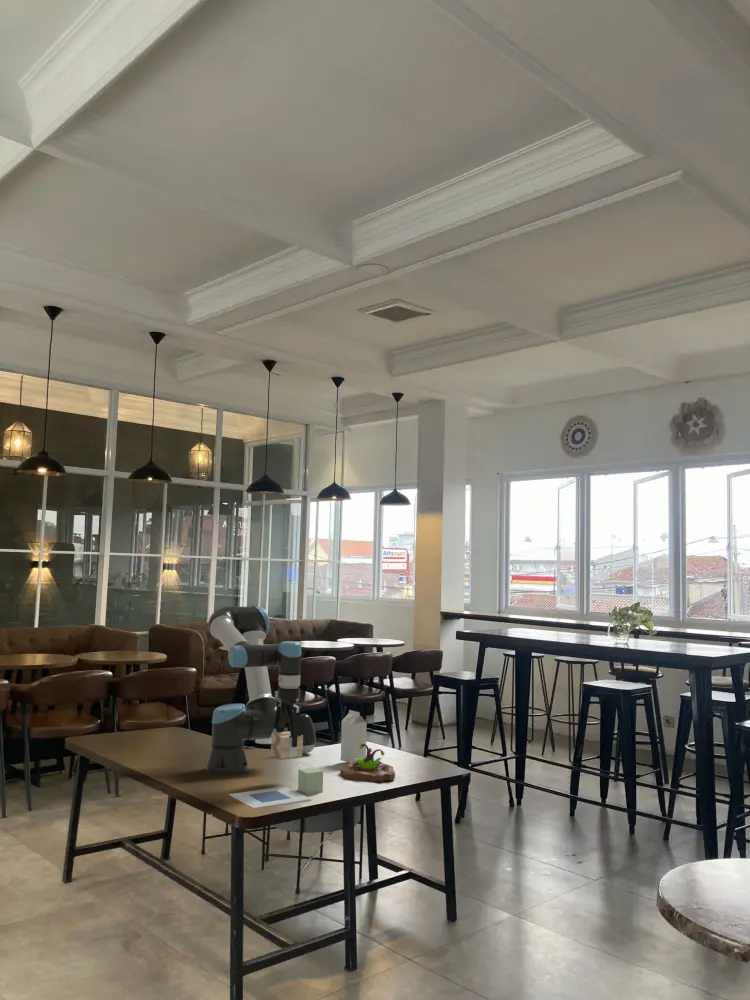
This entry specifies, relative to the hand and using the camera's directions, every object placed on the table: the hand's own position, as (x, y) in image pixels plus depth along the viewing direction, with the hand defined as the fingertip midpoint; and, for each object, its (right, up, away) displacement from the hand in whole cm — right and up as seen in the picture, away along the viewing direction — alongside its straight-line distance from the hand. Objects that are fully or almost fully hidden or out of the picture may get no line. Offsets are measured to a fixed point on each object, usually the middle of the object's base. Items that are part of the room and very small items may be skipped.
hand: (286, 753), depth 279 cm
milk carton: (+22, -14, +35) cm, 44 cm away
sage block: (+9, -9, -11) cm, 17 cm away
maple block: (0, 0, 0) cm, 0 cm away
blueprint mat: (-3, -8, -22) cm, 23 cm away
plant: (+28, -13, +15) cm, 34 cm away
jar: (-17, -17, +68) cm, 72 cm away
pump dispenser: (+1, -15, +50) cm, 52 cm away
